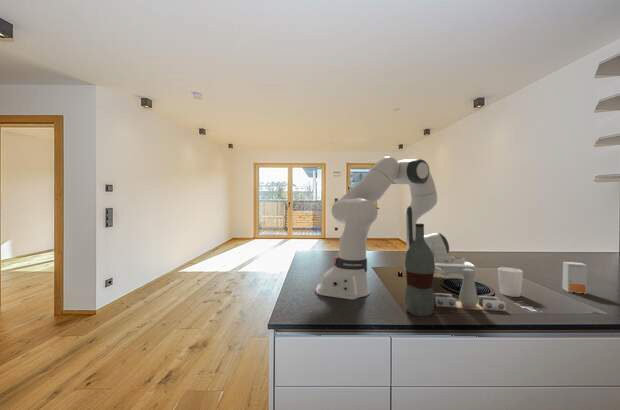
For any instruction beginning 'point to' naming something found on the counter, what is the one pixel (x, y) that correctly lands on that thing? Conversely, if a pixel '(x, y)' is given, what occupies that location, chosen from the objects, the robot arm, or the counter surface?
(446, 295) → the chain end
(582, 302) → the counter surface
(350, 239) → the robot arm
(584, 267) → the skincare box
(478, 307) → the pad
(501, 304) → the chain end
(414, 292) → the bottle
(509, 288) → the white cup
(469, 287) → the salt shaker
